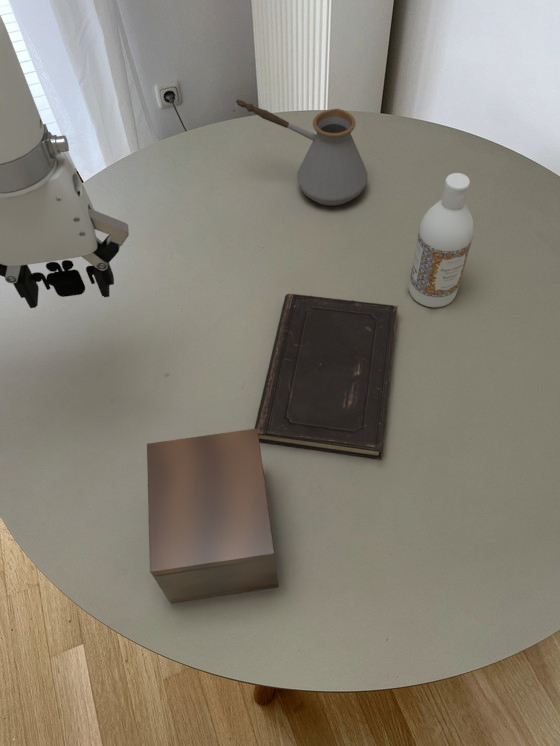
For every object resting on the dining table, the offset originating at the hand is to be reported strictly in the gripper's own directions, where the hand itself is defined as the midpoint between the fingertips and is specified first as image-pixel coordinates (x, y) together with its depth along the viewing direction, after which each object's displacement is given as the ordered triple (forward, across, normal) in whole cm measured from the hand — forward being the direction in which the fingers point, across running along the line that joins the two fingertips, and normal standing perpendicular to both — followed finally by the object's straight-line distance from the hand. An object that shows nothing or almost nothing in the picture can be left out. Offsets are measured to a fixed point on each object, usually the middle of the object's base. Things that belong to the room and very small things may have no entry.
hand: (70, 292), depth 71 cm
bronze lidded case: (+20, -12, +22) cm, 32 cm away
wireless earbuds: (+1, 0, 0) cm, 1 cm away
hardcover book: (+20, -29, +3) cm, 35 cm away
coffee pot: (+20, -32, -35) cm, 52 cm away
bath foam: (+20, -46, -9) cm, 51 cm away
